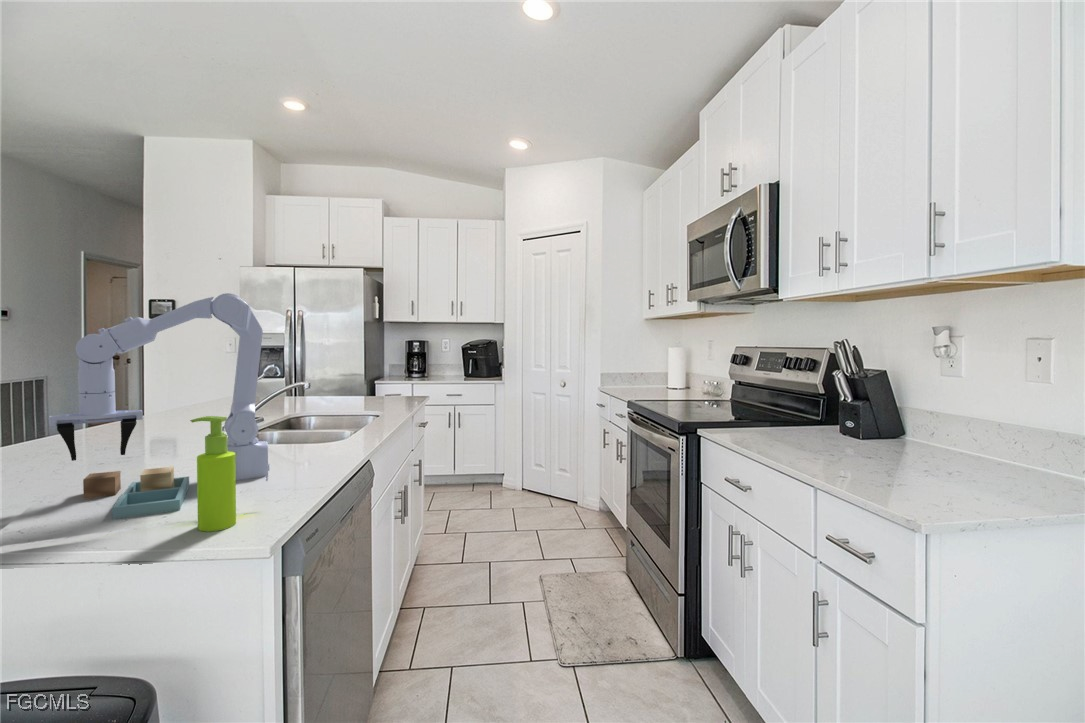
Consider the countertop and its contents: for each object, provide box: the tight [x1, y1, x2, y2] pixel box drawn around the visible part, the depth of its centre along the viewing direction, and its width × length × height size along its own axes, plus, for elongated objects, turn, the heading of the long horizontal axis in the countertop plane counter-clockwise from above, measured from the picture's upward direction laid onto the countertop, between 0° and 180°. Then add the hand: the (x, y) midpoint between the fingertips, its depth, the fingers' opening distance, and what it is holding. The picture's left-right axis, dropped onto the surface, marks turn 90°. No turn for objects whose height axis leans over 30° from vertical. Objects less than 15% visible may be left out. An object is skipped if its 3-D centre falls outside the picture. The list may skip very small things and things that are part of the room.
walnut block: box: [82, 470, 122, 500], centre depth 106 cm, size 5×5×5 cm
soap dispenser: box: [189, 415, 237, 532], centre depth 92 cm, size 6×7×20 cm
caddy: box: [111, 476, 190, 520], centre depth 102 cm, size 10×18×3 cm, turn 30°
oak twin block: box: [139, 466, 175, 491], centre depth 106 cm, size 5×5×5 cm
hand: (98, 456), depth 106 cm, fingers open, 7 cm apart
